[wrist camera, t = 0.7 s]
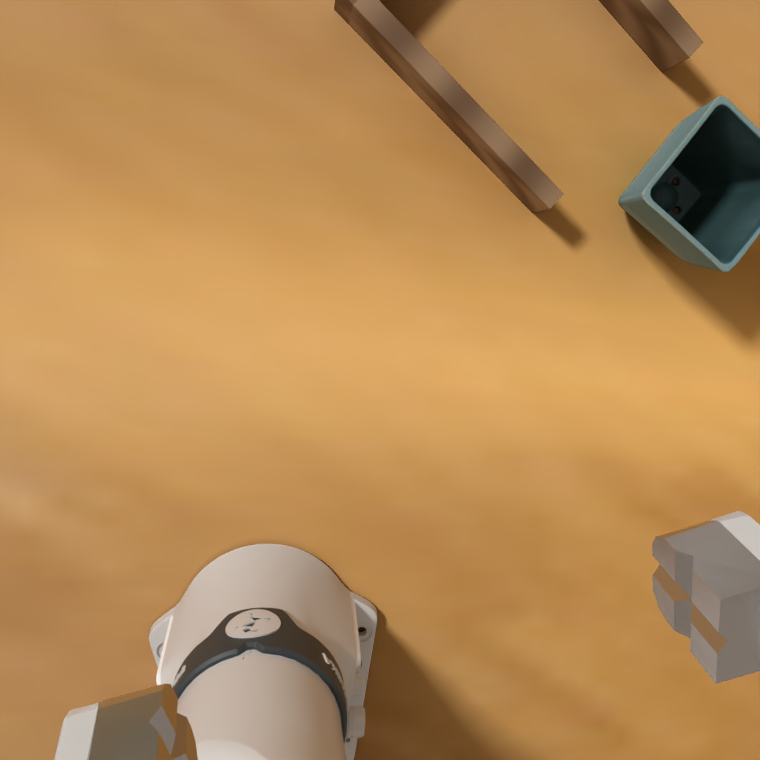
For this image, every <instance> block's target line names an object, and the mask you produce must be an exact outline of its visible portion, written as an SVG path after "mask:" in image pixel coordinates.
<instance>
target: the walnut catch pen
mask: <svg viewBox="0 0 760 760" xmlns="http://www.w3.org/2000/svg"><path fill="white" fill-rule="evenodd" d="M599 1H600V2H601V3H602V4H603V5H604V7H605V8H606V9H607V10H608V11H609V12H610V13H611V15H612V16H613V17H614V18H615V19H616V20H617V21H618V23H619V24H620V25H621V26H622V27H623V28H624V29H625V31H626V32H627V33H628V34H629V35H630V36H631V37H632V39H633V40H634V41H635V42H636V43H637V44H638V45H639V47H640V48H641V49H642V50H643V51H644V52H645V53H646V55H647V56H648V57H649V58H650V59H651V60H652V61H653V63H654V64H655V65H656V66H657V67H658V68H659V69H660V71H661V72H663V71H665V70H667V69H669V68H671V67H672V66H674V65H676V64H678V63H680V62H682V61H684V60H686V59H688V58H689V57H690V56H691V55H692V54H693V53H694V52H695V51H696V50H697V49H698V48H699V47H700V45H701V44H702V43H703V41H702V40H701V39H700V37H699V36H698V35H697V34H696V33H695V31H694V30H693V29H692V28H691V27H690V26H689V24H688V23H687V22H686V21H685V20H684V19H683V17H682V16H681V15H680V14H679V13H678V11H677V10H676V9H675V8H674V7H673V6H672V4H671V3H670V2H669V1H668V0H599ZM334 10H335V11H336V12H337V13H338V14H339V15H340V16H341V17H342V18H343V19H344V20H345V21H346V22H347V23H348V24H349V25H350V26H351V27H352V28H353V29H354V30H355V31H356V32H357V33H358V34H359V35H360V36H361V37H362V38H363V39H364V40H365V41H366V42H367V43H368V44H369V45H370V47H371V48H372V49H373V50H374V51H375V52H376V53H377V54H378V55H379V56H380V57H381V58H382V59H383V60H384V61H385V62H386V63H387V64H388V65H389V66H390V67H391V68H392V69H393V70H394V71H395V72H396V73H397V74H398V75H399V76H400V77H401V78H402V79H403V80H404V81H405V82H406V83H407V85H408V86H409V87H410V88H411V89H412V90H413V91H414V92H415V93H416V94H417V95H418V96H419V97H420V98H421V99H422V100H423V101H424V102H425V103H426V104H427V105H428V106H429V107H430V108H431V109H432V110H433V111H434V112H435V113H436V114H437V115H438V116H439V117H440V118H441V119H442V120H443V122H444V123H445V124H446V125H447V126H448V127H449V128H450V129H451V130H452V131H453V132H454V133H455V134H456V135H457V136H458V137H459V138H460V139H461V140H462V141H463V142H464V143H465V144H466V145H467V146H468V147H469V148H470V149H471V150H472V151H473V152H474V153H475V154H476V155H477V156H478V157H479V159H480V160H481V161H482V162H483V163H484V164H485V165H486V166H487V167H488V168H489V169H490V170H491V171H492V172H493V173H494V174H495V175H496V176H497V177H498V178H499V179H500V180H501V181H502V182H503V183H504V184H505V185H506V186H507V187H508V188H509V189H510V190H511V191H512V192H513V193H514V194H515V196H516V197H517V198H518V199H519V200H520V201H521V202H522V203H523V204H524V205H525V206H526V207H527V208H528V209H529V210H530V211H531V212H532V213H534V212H539V211H543V210H548V209H550V208H551V207H552V206H553V205H554V204H555V203H556V202H557V201H558V200H559V199H560V198H561V197H562V195H563V193H562V191H561V190H560V189H559V188H558V187H557V186H556V185H555V184H554V183H553V182H552V181H551V180H550V179H549V178H548V177H547V176H546V175H545V174H544V173H543V172H542V171H541V169H540V168H539V167H538V166H537V165H536V164H535V163H534V162H533V161H532V160H531V159H530V158H529V157H528V156H527V155H526V154H525V153H524V152H523V151H522V150H521V149H520V147H519V146H518V145H517V144H516V143H515V142H514V141H513V140H512V139H511V138H510V137H509V136H508V135H507V134H506V133H505V132H504V131H503V130H502V129H501V128H500V126H499V125H498V124H497V123H496V122H495V121H494V120H493V119H492V118H491V117H490V116H489V115H488V114H487V113H486V112H485V111H484V110H483V109H482V108H481V107H480V106H479V104H478V103H477V102H476V101H475V100H474V99H473V98H472V97H471V96H470V95H469V94H468V93H467V92H466V91H465V90H464V89H463V88H462V87H461V86H460V85H459V84H458V82H457V81H456V80H455V79H454V78H453V77H452V76H451V75H450V74H449V73H448V72H447V71H446V70H445V69H444V68H443V67H442V66H441V65H440V64H439V63H438V61H437V60H436V59H435V58H434V57H433V56H432V55H431V54H430V53H429V52H428V51H427V50H426V49H425V48H424V47H423V46H422V45H421V44H420V43H419V42H418V41H417V39H416V38H415V37H414V36H413V35H412V34H411V33H410V32H409V31H408V30H407V29H406V28H405V27H404V26H403V25H402V24H401V23H400V22H399V21H398V20H397V19H396V17H395V16H394V15H393V14H392V13H391V12H390V11H389V10H388V9H387V8H386V7H385V6H384V5H383V4H382V3H381V2H380V1H379V0H335V6H334Z"/></svg>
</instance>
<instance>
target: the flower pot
mask: <svg viewBox="0 0 760 760" xmlns="http://www.w3.org/2000/svg"><path fill="white" fill-rule="evenodd" d="M675 178H676V179H677V180H678V184H677V185H674V184H673V179H675ZM619 205H620V206H621V207H622V208H623V209H624V210H625V211H626V212H627V213H628V214H630V215H631V216H632V217H633V218H634V219H635V220H636V221H637V222H639V223H640V224H641V225H642V226H643V227H644V228H645V229H646V230H648V231H649V232H650V233H651V234H652V235H653V236H654V237H655V238H657V239H658V240H659V241H660V242H661V243H662V244H663V245H664V246H665V247H667V248H668V249H669V250H670V251H671V252H672V253H673V254H674V255H676V256H677V257H678V258H680V259H681V260H683V261H685V262H687V263H689V264H692V265H696V266H700V267H704V268H709V269H713V270H718V271H722V272H729V271H730V270H731V269H733V267H734V266H735V265H736V264H737V263H738V262H739V260H740V259H741V258H742V256H743V255H744V254H745V253H746V251H747V250H748V249H749V248H750V246H751V245H752V244H753V242H754V241H755V240H756V238H757V237H758V236H759V235H760V130H759V129H758V128H757V127H756V126H755V125H754V124H753V123H752V122H751V121H750V120H748V118H747V117H746V116H745V115H743V114H742V112H740V111H739V109H738V108H737V107H736V106H735V105H734V104H733V103H732V102H731V101H730V100H729V99H727V98H726V97H723V96H719V97H717V98H715V99H714V100H712V101H711V102H709V103H708V104H706V105H705V106H703V107H701V108H700V109H698V110H697V111H695V112H694V113H692V114H691V115H690V116H688V117H687V118H685V119H684V120H683V121H681V122H680V123H679V124H678V125H677V126H676V127H675V128H674V129H673V131H672V132H671V133H670V134H669V135H668V137H667V138H666V139H665V141H664V142H663V143H662V145H661V146H660V147H659V148H658V150H657V151H656V152H655V154H654V155H653V156H652V157H651V159H650V160H649V161H648V162H647V164H646V165H645V166H644V168H643V169H642V170H641V171H640V173H639V174H638V175H637V176H636V178H635V179H634V180H633V181H632V183H631V184H630V185H629V186H628V187H627V189H626V190H625V191H624V192H623V194H622V195H621V196H620V198H619ZM675 207H678V208H679V210H680V211H679V213H675V212H674V208H675Z"/></svg>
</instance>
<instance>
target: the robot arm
mask: <svg viewBox="0 0 760 760" xmlns="http://www.w3.org/2000/svg"><path fill="white" fill-rule="evenodd" d="M653 556H654V558H655V559H656V560H657V561H658V562H659V563H660V565H659V566H658V568H657V569H656V571H655V573H654V574H653V591H654V594H655V597H656V600H657V603H658V607H659V608H660V610H661V612H662V614H663V616H664V617H665V619H666V620H667V622H668V623H669V624H670V626H671V627H672V628H673V630H674V631H676V632H679V633H681V634H683V635H685V636H687V637H690V638H691V645H690V652H691V653H692V654H693V655H694V657H695V658H696V659H697V660H698V662H699V663H700V664H701V665H702V667H703V668H704V669H705V670H706V672H707V673H708V674H709V675H710V677H711V678H712V679H713V681H714V682H715V683H716V684H717V683H720V682H723V681H727V680H730V679H734V678H737V677H741V676H744V675H747V674H751V673H754V672H758V671H760V525H759V524H758V523H757V522H756V521H754V520H753V519H752V518H751V517H750V516H749V515H747V514H746V513H743V512H741V511H737V512H734V513H730V514H727V515H724V516H721V517H718V518H714V519H711V520H710V521H704V522H701V523H698V524H695V525H692V526H688V527H685V528H682V529H679V530H675V531H672V532H669V533H666V534H663V535H659V536H656V537H655V539H654V542H653ZM376 626H377V610H376V607H375V606H374V605H373V604H372V603H371V602H369V601H368V600H366V599H365V598H363V597H361V596H359V595H357V594H355V593H353V592H351V591H349V590H348V589H347V588H346V587H345V586H344V585H343V584H342V583H341V581H340V580H339V579H338V577H337V576H336V575H335V574H334V573H333V571H332V570H331V569H330V568H329V567H328V566H327V565H325V564H324V563H323V562H322V561H320V560H319V559H318V558H316V557H314V556H313V555H311V554H309V553H307V552H305V551H303V550H300V549H297V548H294V547H290V546H286V545H280V544H255V545H249V546H245V547H241V548H238V549H235V550H232V551H230V552H228V553H225V554H223V555H222V556H220V557H218V558H217V559H215V560H214V561H212V562H211V563H210V564H208V565H207V566H206V567H205V568H204V569H203V570H202V571H201V572H200V573H199V574H198V575H197V576H196V577H195V578H194V580H193V581H192V582H191V584H190V585H189V587H188V589H187V590H186V592H185V594H184V596H183V597H182V599H181V600H180V602H179V603H178V604H177V605H176V606H175V607H174V608H172V609H171V610H169V611H168V612H167V613H165V614H164V615H163V616H161V617H160V618H159V619H158V620H157V621H156V622H155V623H154V624H153V625H152V627H151V629H150V635H149V642H150V645H151V649H152V652H153V655H154V658H155V661H156V664H157V667H158V671H157V677H156V682H157V685H158V686H155V687H151V688H147V689H144V690H140V691H136V692H132V693H129V694H125V695H121V696H118V697H114V698H110V699H107V700H103V701H102V702H98V703H95V704H91V705H87V706H83V707H80V708H76V709H72V710H70V711H69V713H68V714H67V716H66V717H65V719H64V721H63V725H62V729H61V733H60V737H59V742H58V746H57V750H56V755H55V759H54V760H354V757H355V752H356V746H357V740H358V738H361V737H363V736H364V732H365V720H366V716H365V708H364V707H363V704H364V698H365V692H366V686H367V680H368V674H369V668H370V662H371V656H372V650H373V644H374V638H375V632H376ZM360 627H364V628H366V629H365V631H363V632H358V628H360Z"/></svg>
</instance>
